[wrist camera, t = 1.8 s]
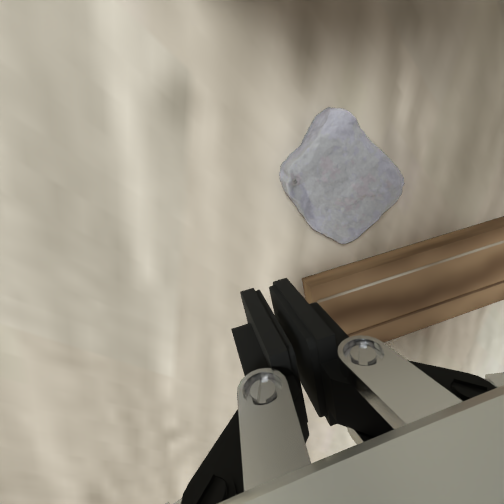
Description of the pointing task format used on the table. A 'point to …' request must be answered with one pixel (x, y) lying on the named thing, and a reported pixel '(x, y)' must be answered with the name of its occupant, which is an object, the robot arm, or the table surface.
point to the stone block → (340, 177)
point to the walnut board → (414, 283)
